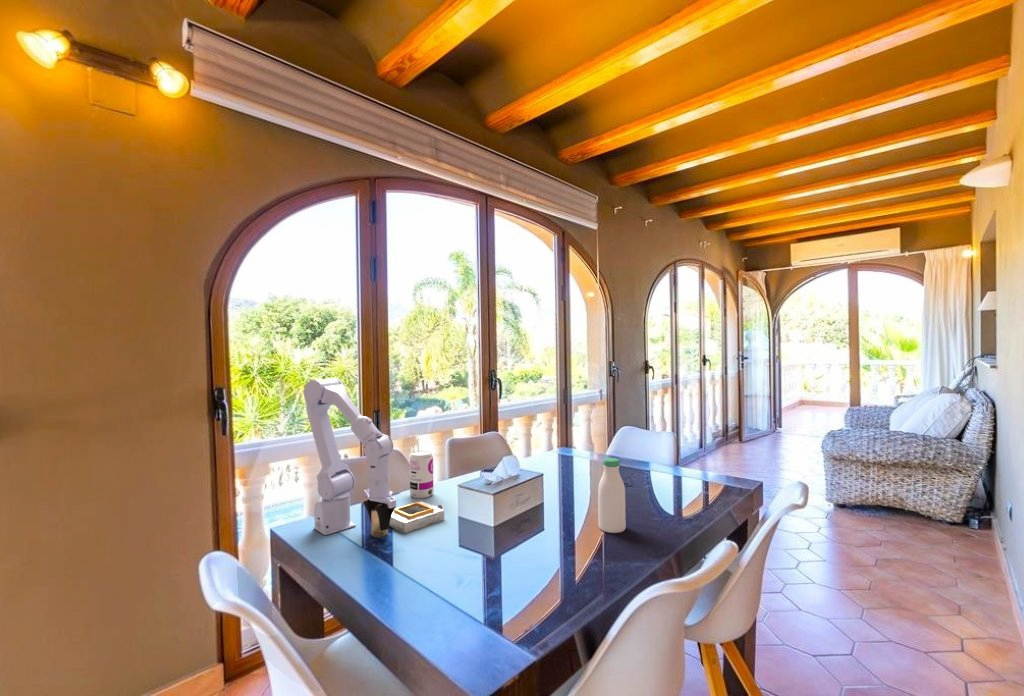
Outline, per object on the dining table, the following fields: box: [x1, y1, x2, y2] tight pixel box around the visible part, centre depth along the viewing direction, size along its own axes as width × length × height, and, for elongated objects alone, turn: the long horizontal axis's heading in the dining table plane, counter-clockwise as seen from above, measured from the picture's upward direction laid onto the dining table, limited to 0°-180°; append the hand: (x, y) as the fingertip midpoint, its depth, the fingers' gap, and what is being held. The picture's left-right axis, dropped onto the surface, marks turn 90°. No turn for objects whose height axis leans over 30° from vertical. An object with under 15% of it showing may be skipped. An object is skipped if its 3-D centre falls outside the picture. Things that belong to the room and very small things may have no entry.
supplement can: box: [409, 450, 435, 499], centre depth 166 cm, size 8×8×15 cm
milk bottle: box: [597, 457, 627, 534], centre depth 134 cm, size 8×8×20 cm
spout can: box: [371, 504, 389, 538], centre depth 133 cm, size 6×4×8 cm
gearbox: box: [389, 501, 445, 534], centre depth 142 cm, size 17×12×4 cm
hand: (379, 527), depth 132 cm, fingers closed on spout can, 4 cm apart
